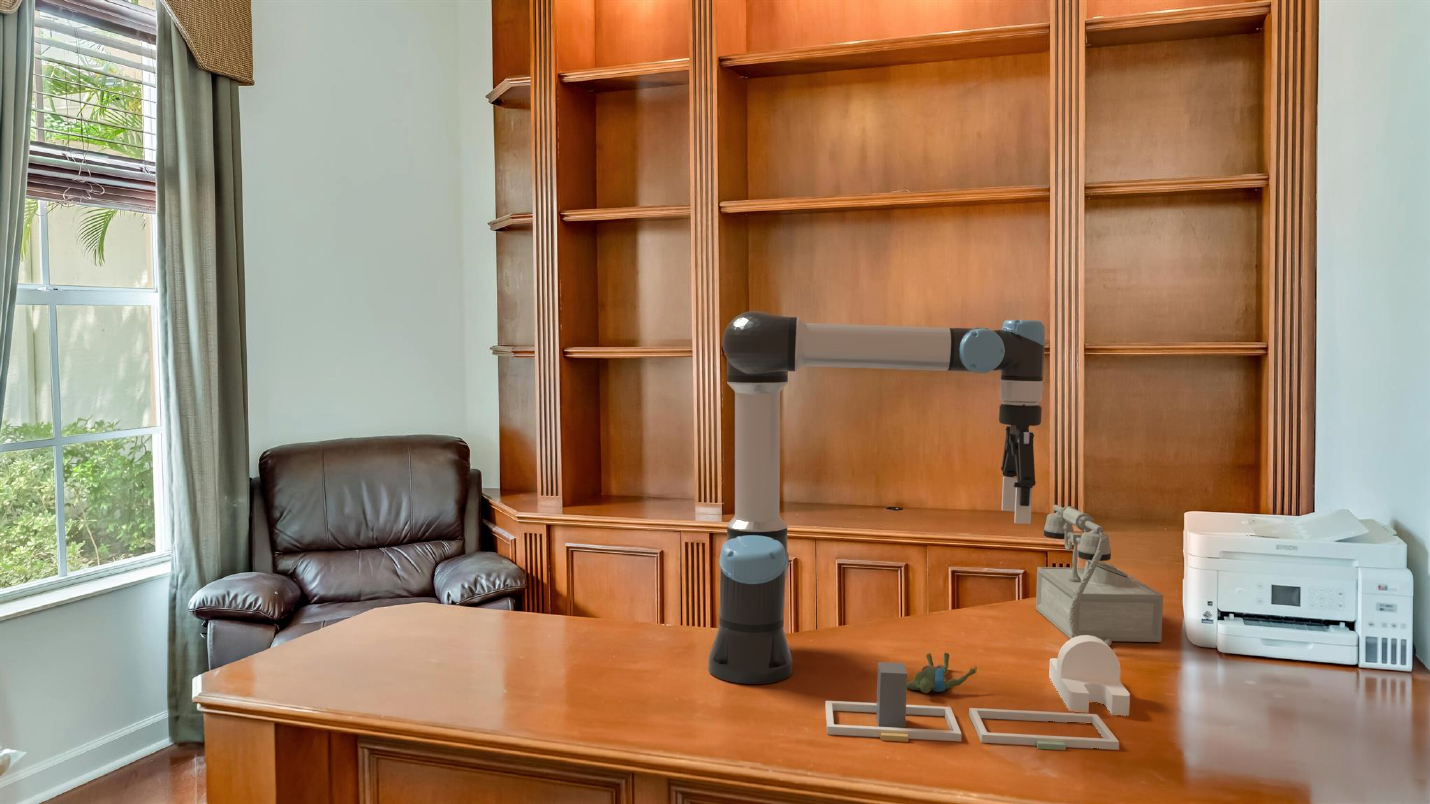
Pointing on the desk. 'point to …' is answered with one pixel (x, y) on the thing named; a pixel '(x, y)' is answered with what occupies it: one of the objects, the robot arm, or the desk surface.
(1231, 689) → the desk surface
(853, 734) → the socket
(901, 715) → the plug
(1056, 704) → the desk surface
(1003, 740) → the socket
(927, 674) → the figurine
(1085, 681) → the white slotted bracket
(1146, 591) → the rotary telephone
